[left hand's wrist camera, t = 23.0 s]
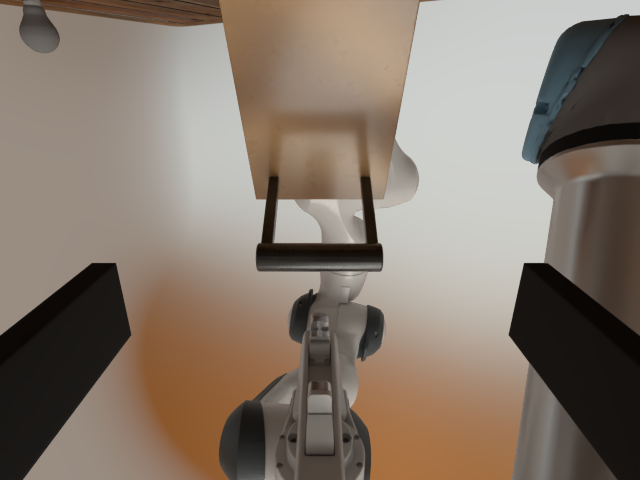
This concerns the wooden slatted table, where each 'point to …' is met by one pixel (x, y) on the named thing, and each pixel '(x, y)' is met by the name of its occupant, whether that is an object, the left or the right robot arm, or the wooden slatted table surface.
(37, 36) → the light bulb
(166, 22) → the wooden slatted table surface
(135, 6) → the wooden slatted table surface
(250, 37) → the lid
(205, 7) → the wooden slatted table surface
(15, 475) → the left robot arm
